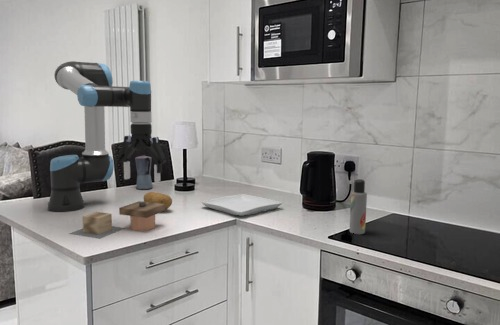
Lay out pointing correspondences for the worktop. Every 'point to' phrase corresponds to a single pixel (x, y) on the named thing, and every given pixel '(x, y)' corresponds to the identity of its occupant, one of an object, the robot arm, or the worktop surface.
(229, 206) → the square plate
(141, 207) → the lid
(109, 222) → the pedestal
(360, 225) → the lotion bottle
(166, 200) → the potato
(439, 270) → the worktop surface
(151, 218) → the bowl
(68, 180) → the robot arm
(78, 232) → the mat
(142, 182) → the moka pot
